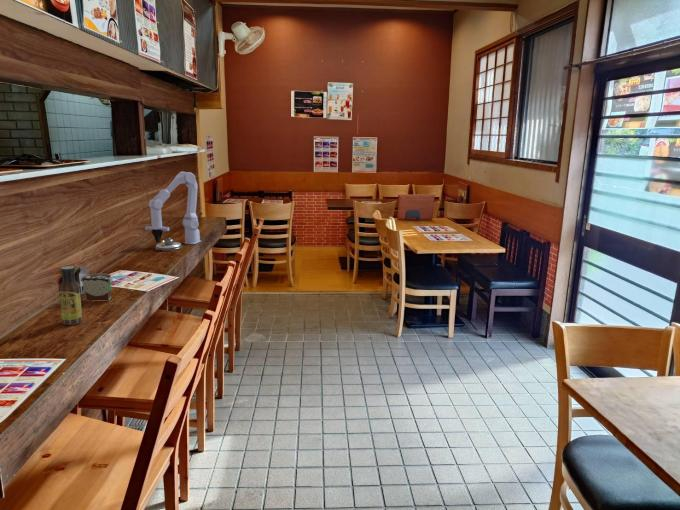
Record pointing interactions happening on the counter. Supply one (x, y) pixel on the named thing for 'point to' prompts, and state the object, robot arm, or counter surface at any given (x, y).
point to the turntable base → (168, 249)
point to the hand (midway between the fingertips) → (158, 242)
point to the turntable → (163, 246)
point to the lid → (168, 241)
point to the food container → (97, 286)
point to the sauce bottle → (69, 297)
